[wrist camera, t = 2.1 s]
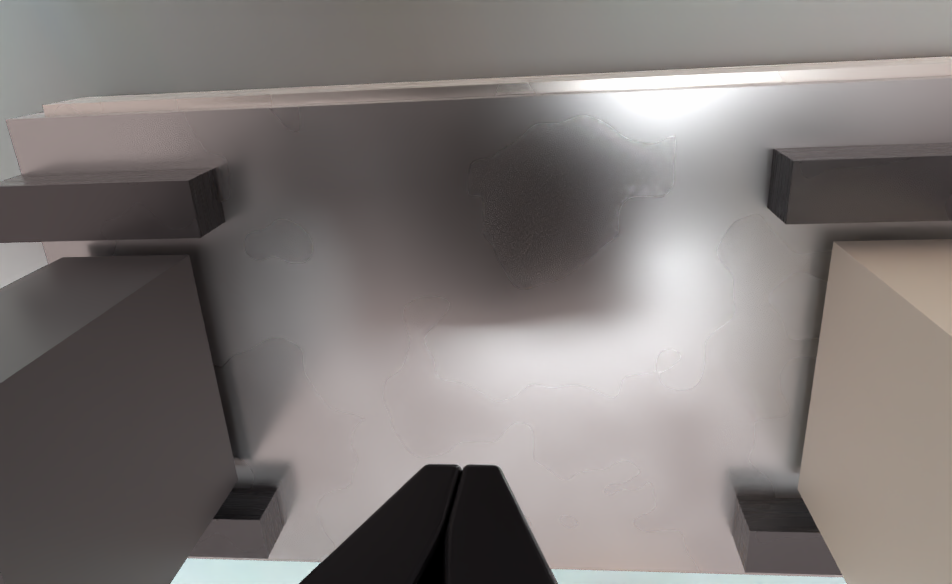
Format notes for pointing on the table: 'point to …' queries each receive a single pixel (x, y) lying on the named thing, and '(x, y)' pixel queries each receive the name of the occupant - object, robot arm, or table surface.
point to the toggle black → (107, 422)
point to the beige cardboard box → (884, 413)
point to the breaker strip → (511, 286)
